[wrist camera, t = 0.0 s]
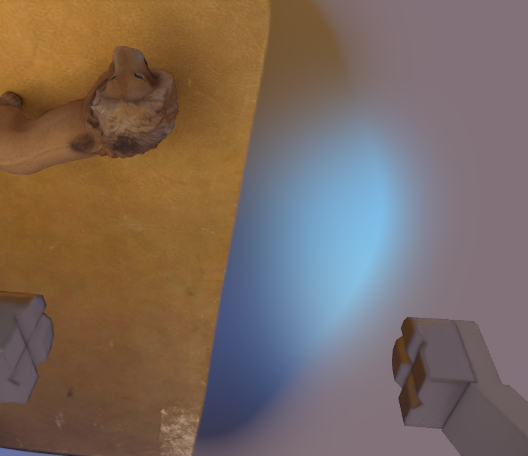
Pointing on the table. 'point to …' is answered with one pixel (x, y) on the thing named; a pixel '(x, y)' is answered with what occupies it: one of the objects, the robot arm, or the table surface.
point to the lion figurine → (93, 119)
